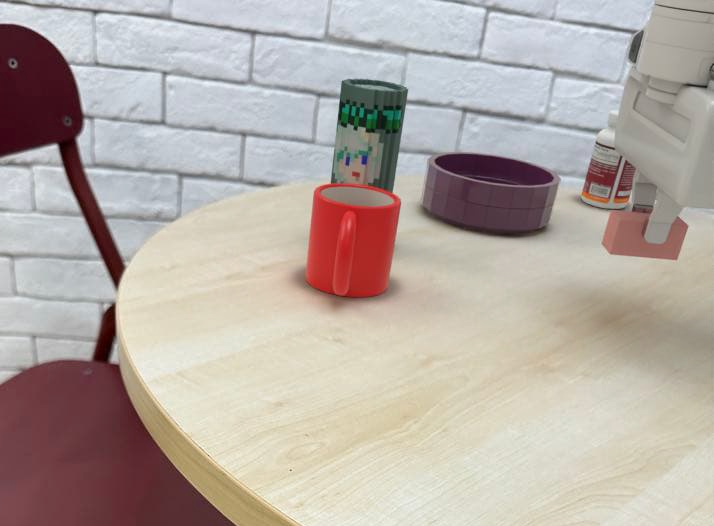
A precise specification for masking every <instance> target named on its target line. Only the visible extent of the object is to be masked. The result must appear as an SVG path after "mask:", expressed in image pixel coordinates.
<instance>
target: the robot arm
mask: <svg viewBox="0 0 714 526" xmlns="http://www.w3.org/2000/svg"><path fill="white" fill-rule="evenodd" d="M626 61H627V63H629V64H630V65H632V66H631V67H630V69H629V70H628V73H627V75H626V78H625V81H624V86H623V89H622V94H621V99H620V103H619V104H620V105H619V109H618V110H619V113H618V118H617V123H616V128H615V150H616V152H618V153H619V154H620V155H621V156H622V157H623V158H625V159H626V160H627V161H628V162H629V163H630V164H632V165H633V166H634V167H635V168H636V169H635V173H634V176H633V183H632V191H631V204H630V208H629V211H630V212H641V213H651V215H650V217H646V219H645V223H644V226H643V229H642V233H641V234H642V237H643V238H644V239H645V240H646V241H647V242H648V243H654V244H663V243H664V242H665V241H666V240H667V237H668V234H669V231H670V228H671V225H672V223H673V222H674V221H675V219H676V218H677V216H678V217H679V215H680V214H681V212H682V210H683V209H684V208H691V209H703V210H714V0H654V2H653V6H652V9H651V13H650V16H649V19H648V21H647V22H646V24H645V25H644V26H643V27H642V28H641V29H639V30H637V31H636V32H635V33H634V34H633V35H632V36H631V38H630V42H629V45H628V48H627V53H626Z"/></svg>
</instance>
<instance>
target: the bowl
mask: <svg viewBox="0 0 714 526" xmlns="http://www.w3.org/2000/svg"><path fill="white" fill-rule="evenodd" d="M423 179H424V180H423V183H422V184H423V185H422V190H421V196H420V201H421V205H422V206H423V207H424V208H425V209H426V210H427V211H429V213H430V214H431V215H432V216H433V217H434V218H437V219H438V220H440V221H442V222H444V223H446V224H450V225H452V226H455V227H458V228H462V229H466V230H469V231H470V230H471V231H476V232H481V233H489V234H496V235H497V234H498V235H520V234H521V235H522V234H528V233H531V232H534V231H537V230H538V229H540V228H543V227H545V226H547V225H549V224H550V222H551V220H552V215H553V212H554V208H555V204H556V200H557V196H558V193H559V189H560V185H561V181H562V178H561V177H560V176H559V175H558V174H557V173H556V172H555V171H552V170H551V169H549V168H547V167H545V166H543V165H539V164H537V163H533V162H531V161H526V160H523V159H518V158H515V157H509V156H504V155H498V154H492V153H484V152H483V153H482V152H471V151H451V152H449V151H448V152H440V153H436V154H432V155H431V156H429V157H428V158H427V161H426V166H425V171H424V178H423Z"/></svg>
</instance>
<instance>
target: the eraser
mask: <svg viewBox="0 0 714 526" xmlns="http://www.w3.org/2000/svg"><path fill="white" fill-rule="evenodd" d="M650 215H651V213H641V212H630V210H629V211H628V210H620V209H610V212H609V215H608V219H607V223H606V227H605V230H604V233H603V237H602V241H601V245H602V246H603V248H604V249H605V250H606V251H607V253H608V254H609V255H613V256H622V257H623V256H624V257H634V258H635V257H636V258H644V259H645V258H646V259H658V260H667V261H668V260H670V261H678V259H679V256H680V253H681V250H682V247H683V245H684V241H685V238H686V235H687V232H688V230H689V229H688V228H689V226H690V225H689V224H688V223H686V222H685V221H684V220H683V218H681V217H680V216H679V215H678V216H677V218H676V219H675V221H674V222H673V223H672V225H671V228H670V231H669V234H668V237H667V240H666V241H665V242H664V243H663V244H654V243H648V242H647V241H646V240H645V239H644V238H643V237H642V234H641V233H642V229H643V226H644V223H645V219H646V217H650Z"/></svg>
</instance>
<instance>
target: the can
mask: <svg viewBox="0 0 714 526" xmlns="http://www.w3.org/2000/svg"><path fill="white" fill-rule="evenodd" d="M339 94H340V95H339V101H338V102H339V103H338V110H337V111H338V112H337V120H336V129H335V140H334V148H333V149H334V150H333V157H332V166H331V175H330V176H331V177H330V184H333V183H351V184H360V185H367V186H372V187H376V188H380V189H383V190H386V191H389V192H391V193H393V194H394V187H395V181H396V180H395V178H396V173H397V167H398V159H399V154H400V153H399V152H400V148H401V147H400V146H401V140H402V133H403V126H404V121H405V113H406V107H407V102H408V101H407V100H408V94H409V88H408V87H407V86H405V85H402V84H399V83H395V82H391V81H384V80H380V79H369V78H358V77H357V78H347V79H343V80H341V84H340V93H339Z"/></svg>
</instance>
